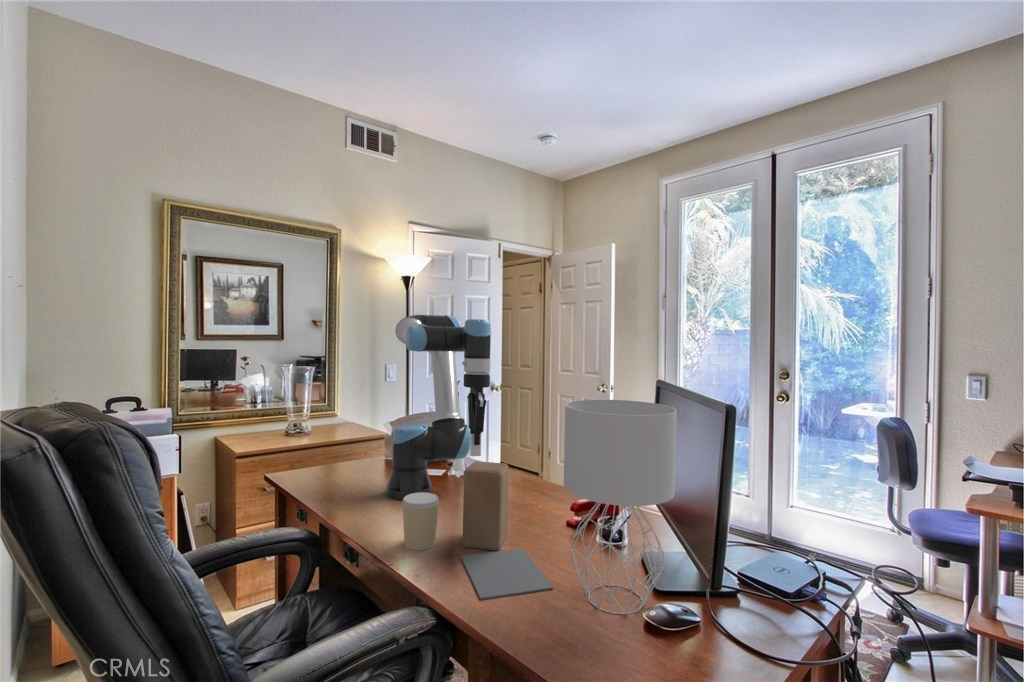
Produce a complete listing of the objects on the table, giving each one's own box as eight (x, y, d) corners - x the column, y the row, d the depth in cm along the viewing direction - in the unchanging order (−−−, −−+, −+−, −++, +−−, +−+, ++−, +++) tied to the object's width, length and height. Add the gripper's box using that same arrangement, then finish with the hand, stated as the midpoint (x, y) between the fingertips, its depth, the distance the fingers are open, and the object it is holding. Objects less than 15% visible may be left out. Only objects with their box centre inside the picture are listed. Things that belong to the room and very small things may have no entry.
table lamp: (561, 569, 114) (565, 398, 114) (659, 576, 112) (663, 401, 111) (560, 626, 92) (565, 412, 91) (684, 636, 89) (689, 417, 89)
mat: (460, 557, 119) (460, 555, 119) (522, 549, 124) (522, 548, 124) (480, 600, 100) (480, 598, 100) (553, 589, 105) (553, 587, 105)
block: (499, 552, 122) (501, 472, 122) (461, 548, 124) (462, 469, 124) (507, 536, 132) (509, 462, 132) (472, 532, 134) (473, 460, 134)
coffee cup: (444, 539, 129) (445, 494, 129) (427, 554, 120) (428, 505, 120) (413, 534, 132) (414, 490, 132) (394, 548, 123) (395, 500, 123)
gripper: (459, 371, 145) (458, 451, 145) (469, 374, 133) (467, 461, 133) (483, 371, 148) (482, 450, 148) (495, 374, 135) (494, 460, 135)
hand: (475, 455), depth 140 cm, fingers closed
